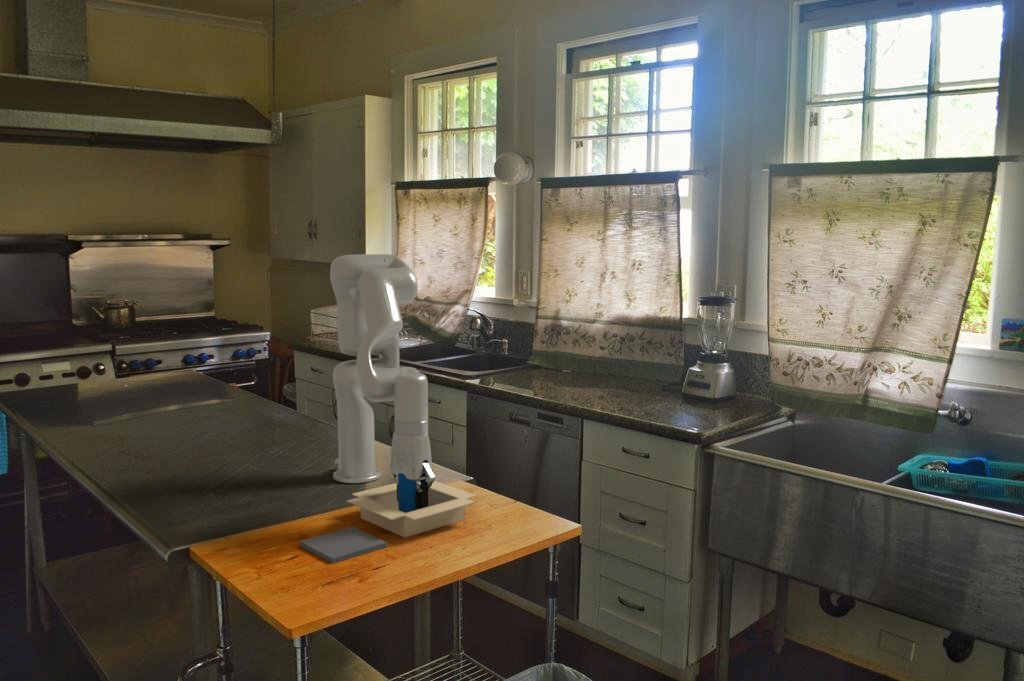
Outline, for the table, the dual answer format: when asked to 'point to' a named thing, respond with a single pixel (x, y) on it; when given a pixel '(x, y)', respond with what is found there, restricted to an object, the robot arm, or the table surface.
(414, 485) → the beverage can
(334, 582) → the table surface
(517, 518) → the table surface
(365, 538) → the mat
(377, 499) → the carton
